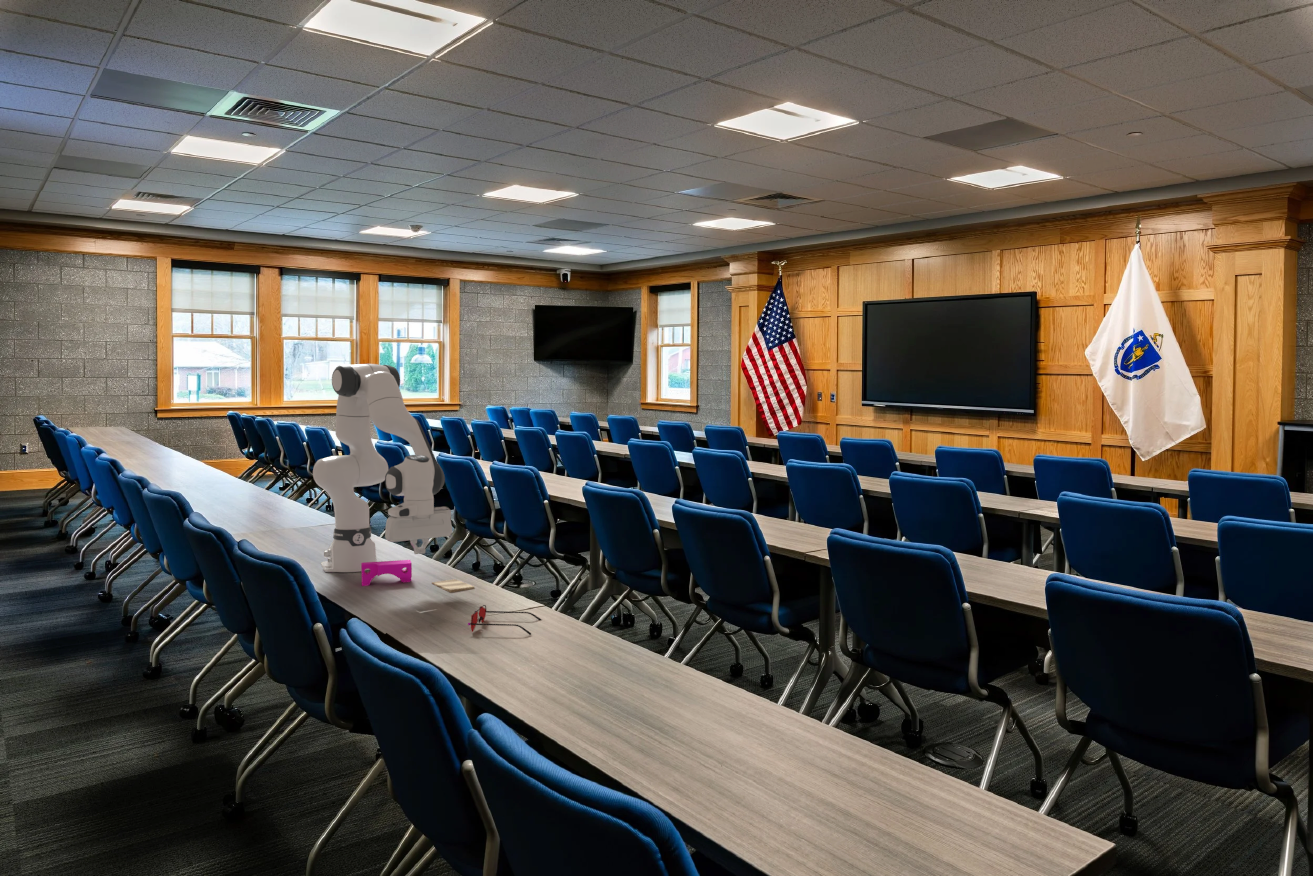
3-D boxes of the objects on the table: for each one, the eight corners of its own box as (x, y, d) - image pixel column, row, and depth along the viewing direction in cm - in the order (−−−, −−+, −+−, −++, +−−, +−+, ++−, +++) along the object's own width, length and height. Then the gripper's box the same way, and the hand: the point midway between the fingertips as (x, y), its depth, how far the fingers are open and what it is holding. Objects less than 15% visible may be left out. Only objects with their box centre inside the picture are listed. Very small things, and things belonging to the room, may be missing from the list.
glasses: (482, 620, 241) (482, 602, 240) (542, 621, 239) (542, 603, 239) (467, 634, 227) (467, 615, 227) (531, 635, 225) (531, 616, 225)
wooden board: (431, 586, 282) (431, 582, 282) (455, 582, 287) (455, 579, 287) (450, 593, 271) (450, 590, 271) (474, 590, 276) (474, 586, 276)
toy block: (411, 563, 282) (411, 586, 283) (410, 559, 288) (410, 582, 288) (361, 566, 277) (362, 590, 278) (361, 562, 283) (361, 586, 283)
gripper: (446, 505, 280) (447, 548, 281) (382, 510, 268) (383, 555, 268) (455, 506, 275) (455, 551, 276) (390, 512, 263) (391, 558, 263)
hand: (419, 553), depth 272 cm, fingers closed
